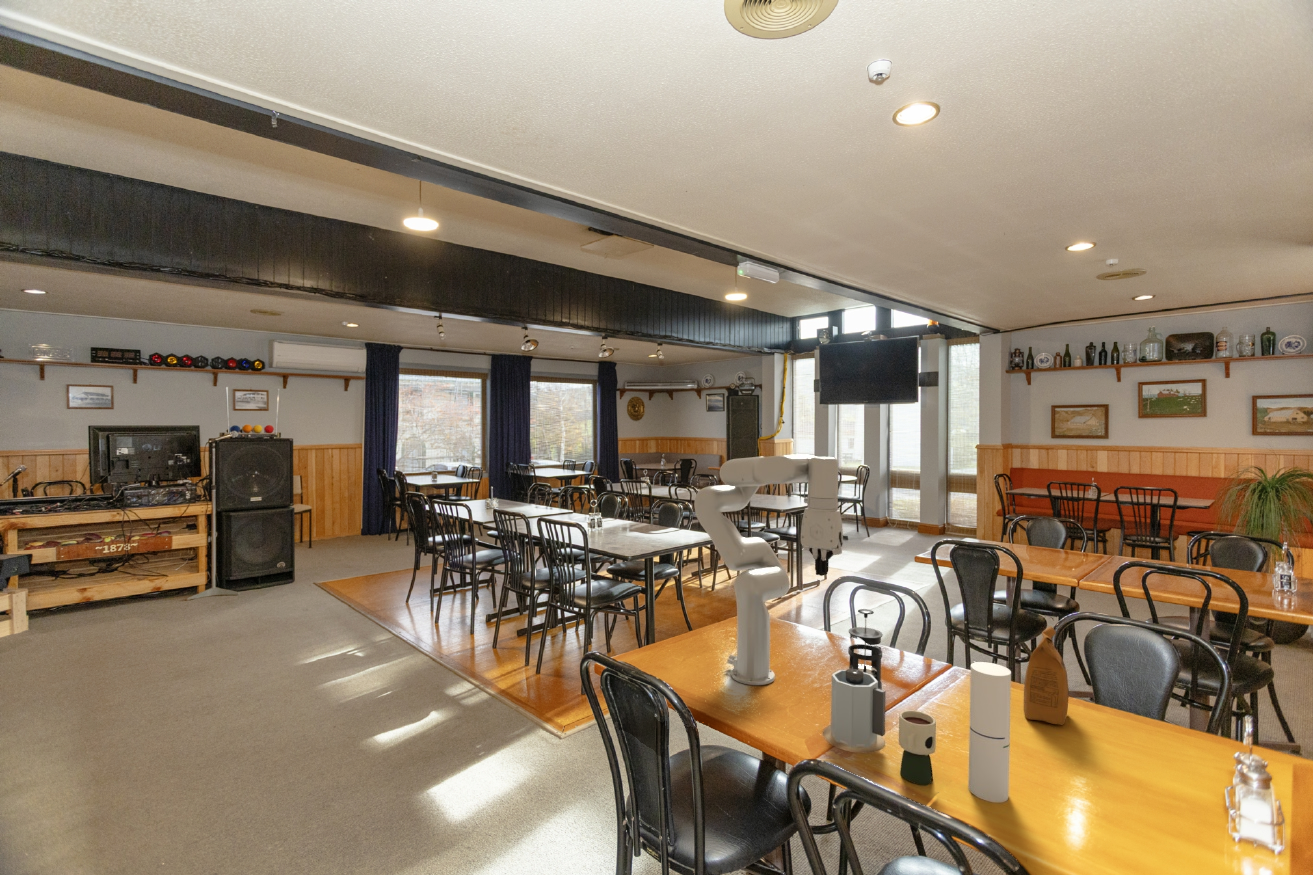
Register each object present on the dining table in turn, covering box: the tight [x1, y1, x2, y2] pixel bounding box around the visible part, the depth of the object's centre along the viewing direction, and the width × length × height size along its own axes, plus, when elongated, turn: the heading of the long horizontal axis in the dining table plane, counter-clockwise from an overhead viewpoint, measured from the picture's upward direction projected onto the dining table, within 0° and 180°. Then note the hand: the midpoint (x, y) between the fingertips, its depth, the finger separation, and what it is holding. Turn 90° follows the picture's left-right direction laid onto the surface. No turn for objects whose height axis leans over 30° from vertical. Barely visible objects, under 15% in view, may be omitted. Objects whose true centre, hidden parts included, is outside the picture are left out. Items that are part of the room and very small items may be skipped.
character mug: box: [898, 709, 937, 786], centre depth 128 cm, size 11×7×13 cm, turn 143°
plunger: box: [845, 668, 864, 685], centre depth 144 cm, size 7×7×12 cm
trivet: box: [822, 724, 886, 754], centre depth 145 cm, size 14×14×1 cm
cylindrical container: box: [967, 661, 1012, 804], centre depth 124 cm, size 7×7×25 cm
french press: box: [847, 608, 884, 690], centre depth 171 cm, size 12×9×23 cm
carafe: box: [830, 669, 886, 748], centre depth 144 cm, size 12×10×14 cm
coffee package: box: [1023, 626, 1070, 726], centre depth 158 cm, size 10×12×22 cm
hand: (821, 574), depth 160 cm, fingers closed
